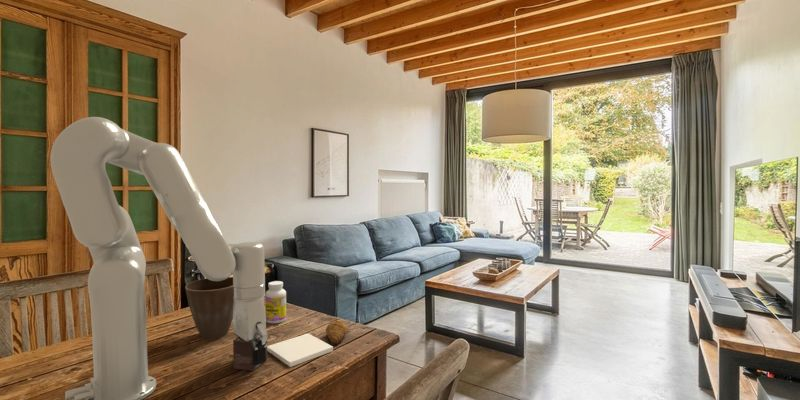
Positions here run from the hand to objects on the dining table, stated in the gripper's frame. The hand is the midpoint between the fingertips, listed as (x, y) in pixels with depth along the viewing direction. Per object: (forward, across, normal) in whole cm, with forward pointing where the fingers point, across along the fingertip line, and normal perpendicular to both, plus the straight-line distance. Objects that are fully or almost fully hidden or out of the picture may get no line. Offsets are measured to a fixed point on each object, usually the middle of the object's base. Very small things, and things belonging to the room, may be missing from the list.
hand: (250, 357), depth 97 cm
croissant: (+2, +1, +26) cm, 26 cm away
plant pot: (+2, -26, 0) cm, 26 cm away
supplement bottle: (+2, -24, +19) cm, 31 cm away
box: (+2, 0, 0) cm, 2 cm away
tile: (+2, +2, +13) cm, 13 cm away
